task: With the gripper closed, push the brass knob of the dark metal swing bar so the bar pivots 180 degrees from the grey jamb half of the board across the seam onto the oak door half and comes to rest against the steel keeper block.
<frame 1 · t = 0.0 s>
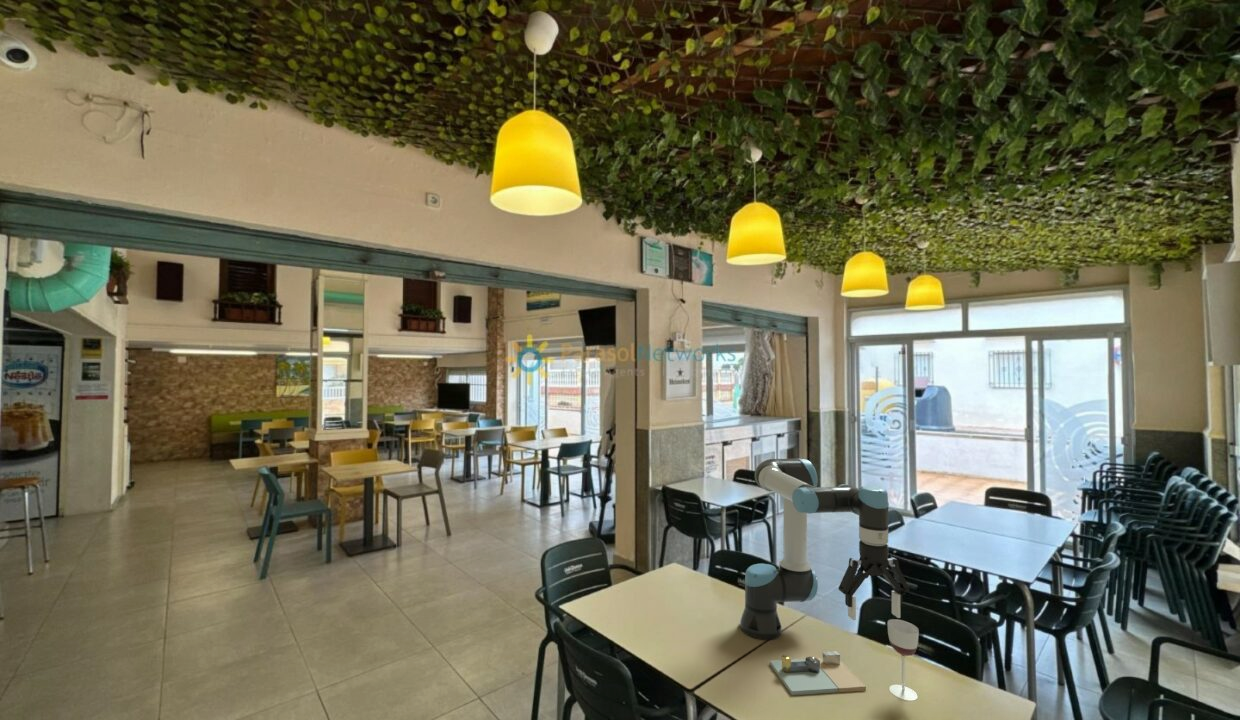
hand: (874, 616, 140), 28 cm above the table, fingers open, 13 cm apart
keeper: (831, 666, 163), resting on door board
swing bar: (800, 662, 159), point 3 cm above the table, hinge at 0.0°
wineglass: (903, 693, 150), on the table
door board: (815, 676, 158), on the table
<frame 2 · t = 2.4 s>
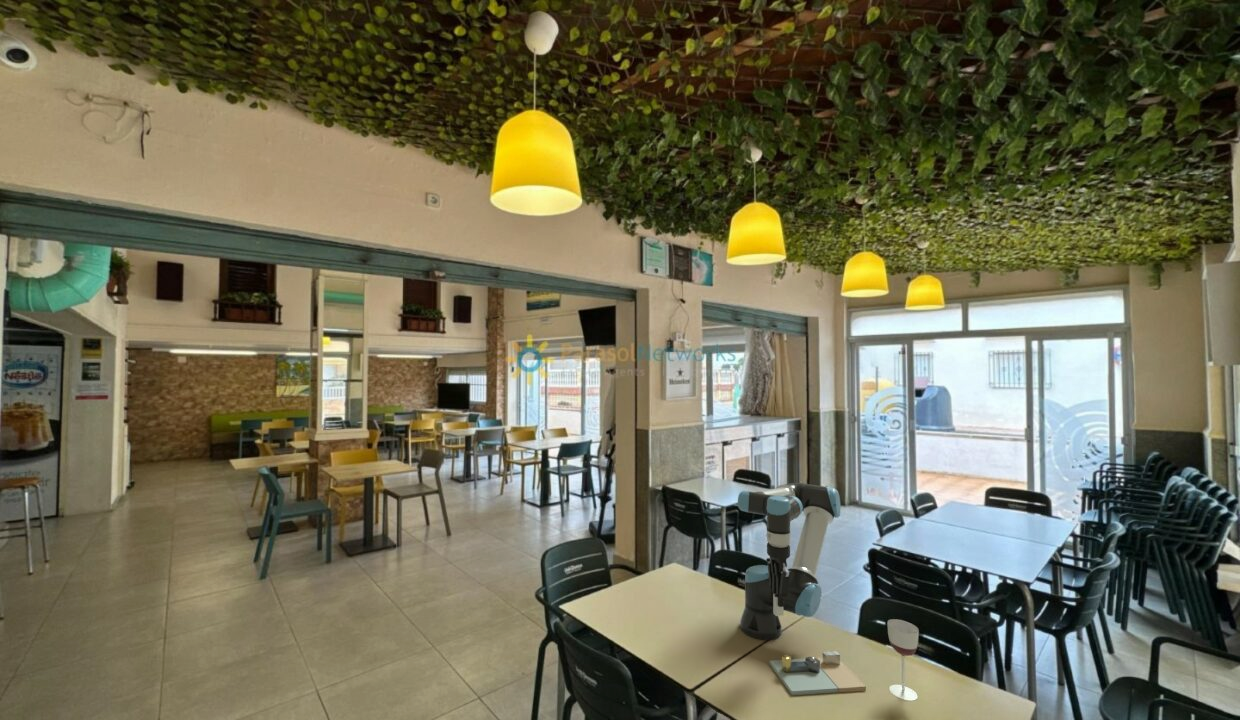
hand: (778, 614, 165), 16 cm above the table, fingers closed
nothing on the table moved.
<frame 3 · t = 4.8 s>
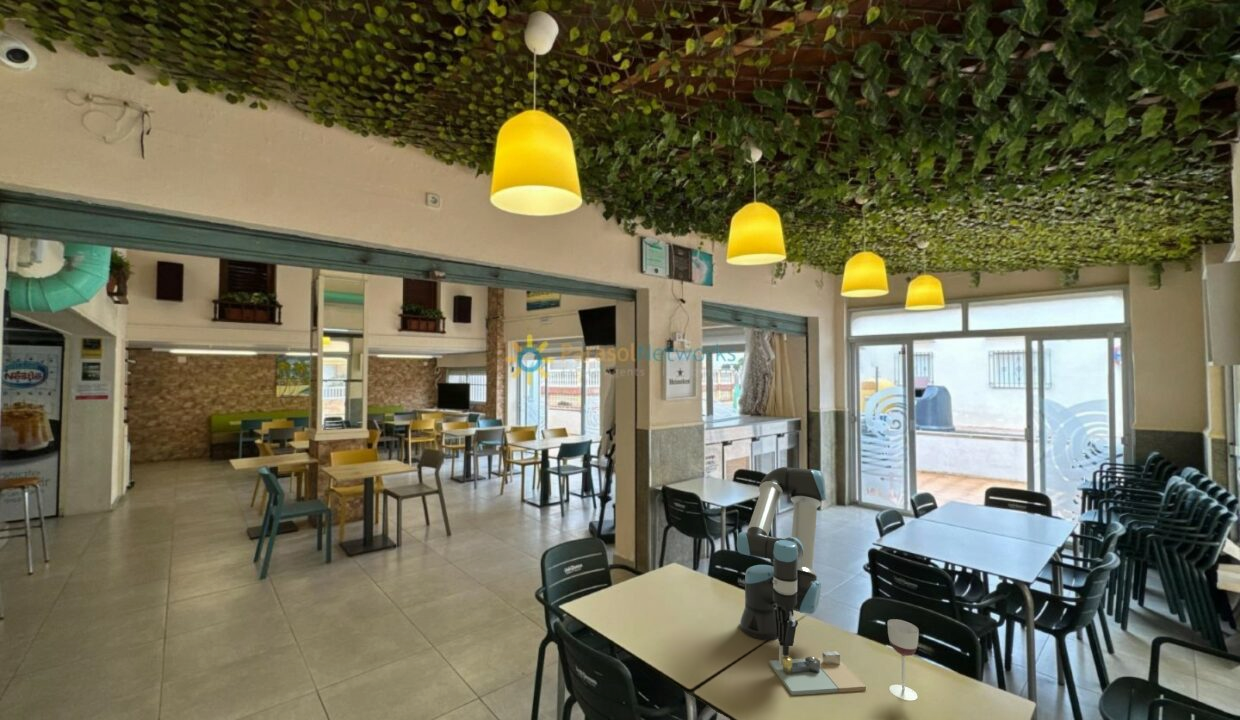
hand: (783, 663, 160), 3 cm above the table, fingers closed
swing bar: (801, 663, 159), point 3 cm above the table, hinge at 5.1°, touching gripper
everything else where it was.
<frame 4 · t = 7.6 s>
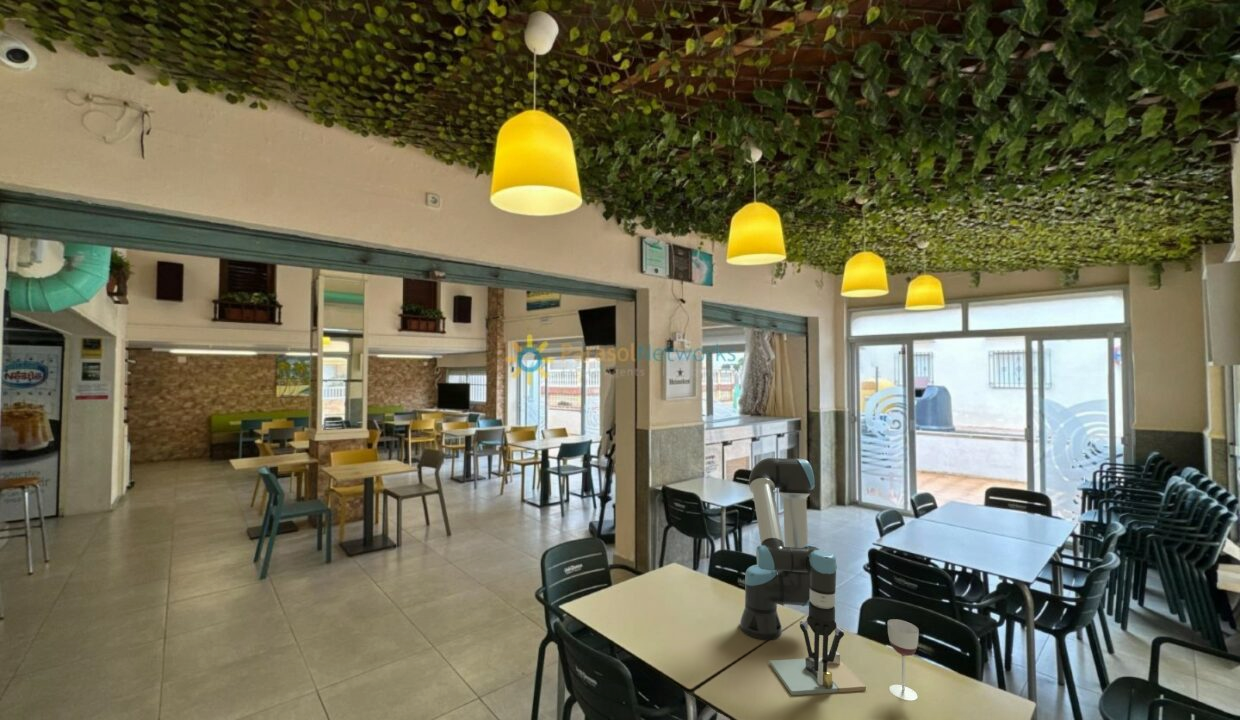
hand: (820, 681, 151), 3 cm above the table, fingers closed
swing bar: (819, 669, 156), point 3 cm above the table, hinge at 89.7°, touching gripper
everything else where it was.
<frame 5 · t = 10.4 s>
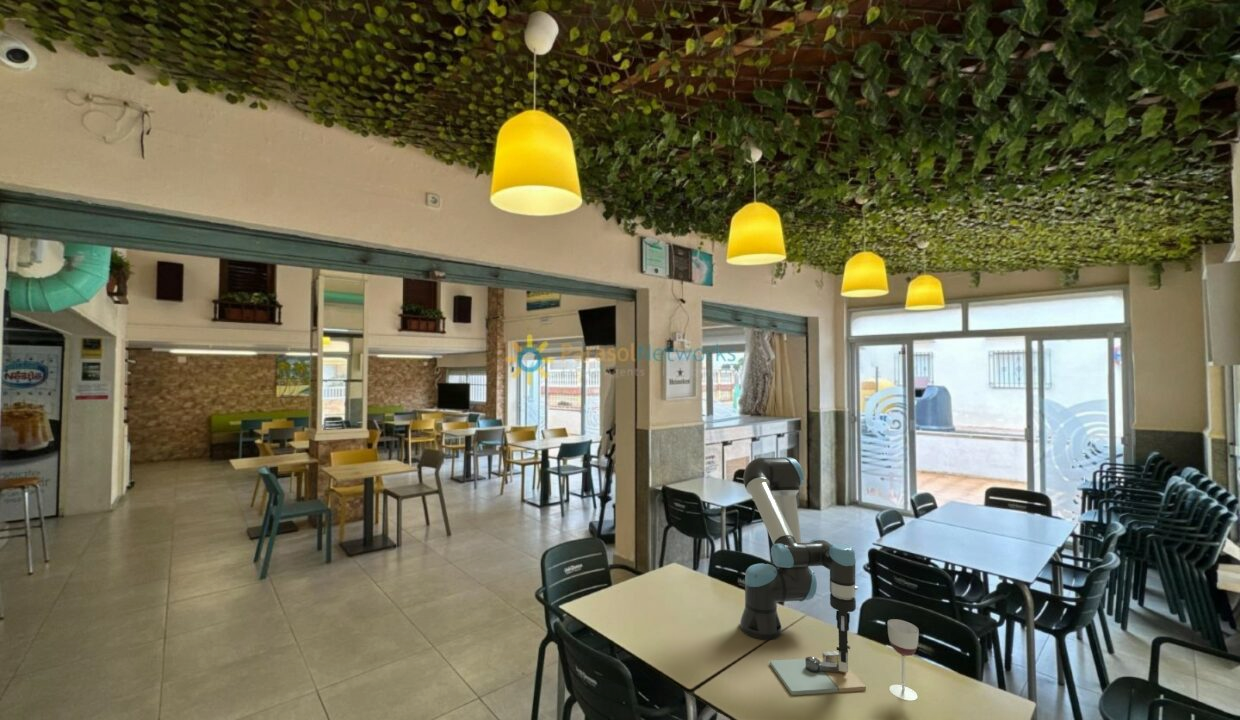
hand: (843, 670, 156), 3 cm above the table, fingers closed
swing bar: (825, 663, 159), point 3 cm above the table, hinge at 165.2°, touching gripper
everything else where it was.
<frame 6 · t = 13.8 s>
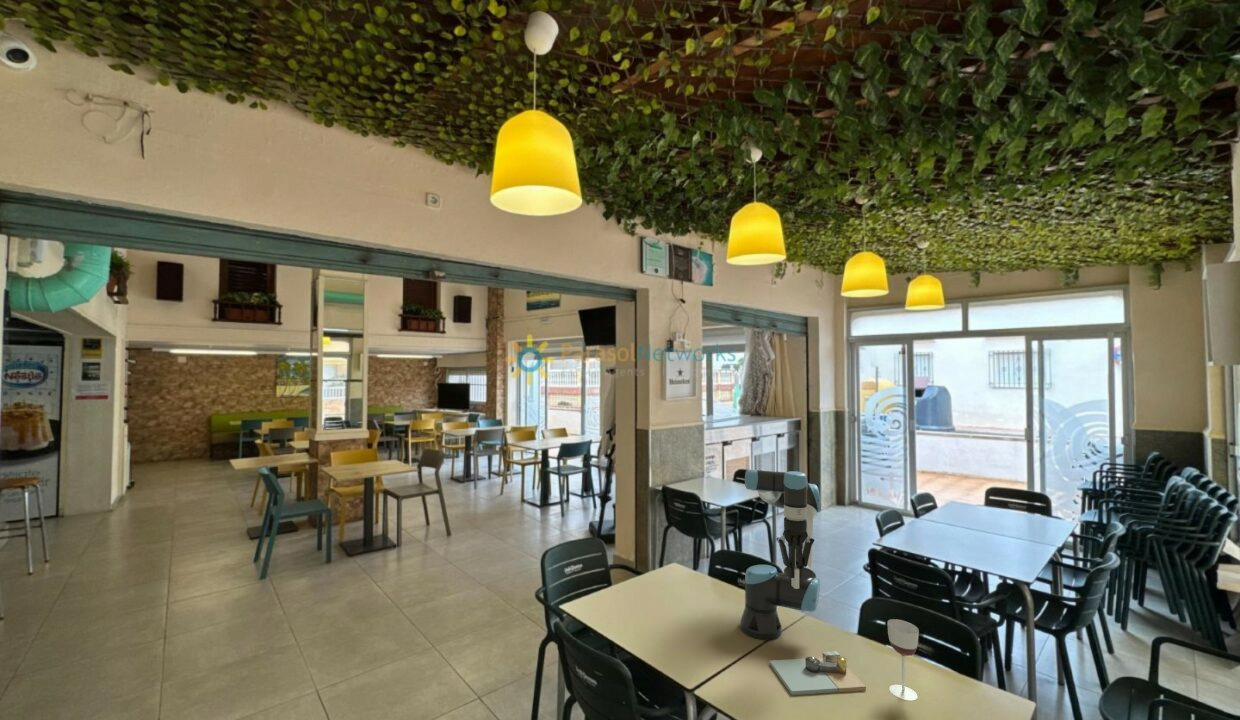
hand: (795, 586, 168), 24 cm above the table, fingers closed
swing bar: (825, 663, 159), point 3 cm above the table, hinge at 165.2°
everything else where it was.
at the end: swing bar at +165° (first picture: +0°) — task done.
